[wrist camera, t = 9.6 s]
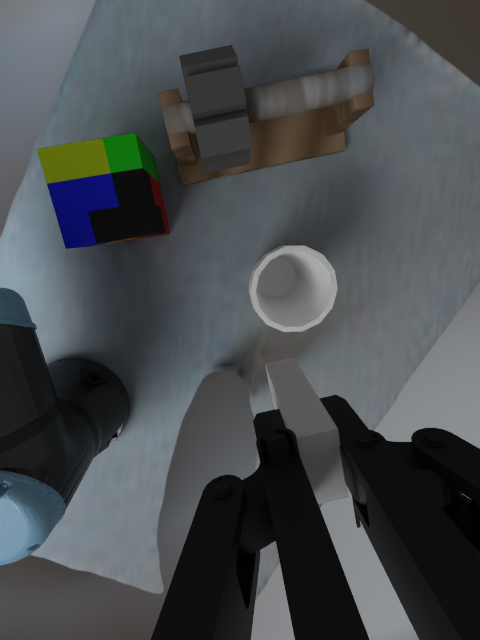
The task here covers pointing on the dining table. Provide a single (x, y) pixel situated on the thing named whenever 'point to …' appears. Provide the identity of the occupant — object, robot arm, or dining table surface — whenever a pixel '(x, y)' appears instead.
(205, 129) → the dark gray notched block
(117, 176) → the puzzle toy
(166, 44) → the dining table surface
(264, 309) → the foam cup
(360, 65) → the pipe rig
